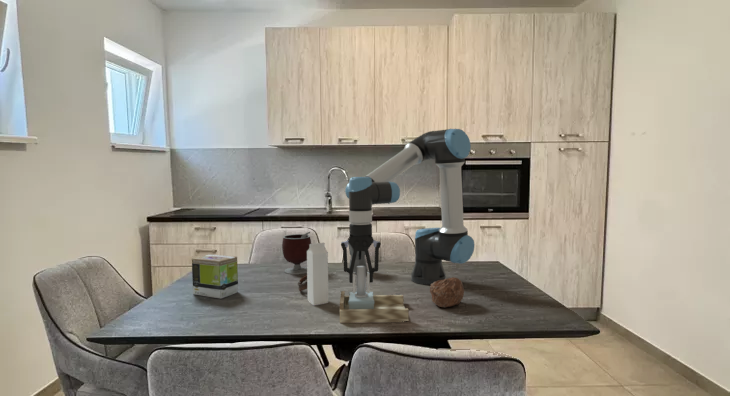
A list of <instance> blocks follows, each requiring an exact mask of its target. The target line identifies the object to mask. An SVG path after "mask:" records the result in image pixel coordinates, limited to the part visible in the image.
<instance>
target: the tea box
mask: <svg viewBox="0 0 730 396" xmlns="http://www.w3.org/2000/svg"><path fill="white" fill-rule="evenodd" d="M191 271H192V272H191V274H192V294H193V295H196V296H202V297H208V298H215V299H224V298H227V297H229V296H232V295H234V294H237V293H238V292H239V279H238V278H239V273H238V256H234V255H224V254H223V255H222V254H212V253H211V254H206V255H202V256H201V255H200V256H197V257H193V258H191Z"/></svg>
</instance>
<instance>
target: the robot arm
mask: <svg viewBox="0 0 730 396" xmlns="http://www.w3.org/2000/svg"><path fill="white" fill-rule="evenodd" d="M471 146H472V145H471V141H470V137H469V136H468V134H467V133H466V132H465V131H464V130H462V129H461V128H447V129H439V130H432V131H427V132H424V133H422V134H420V135H419V136H418V137H416V138H414V139H412V140H411V141H410V142H408V143H407V144H405V145H404V148H403V149H402V150H400V151H399V152H398V153H397V154H395V155H393V156H392V157H391V158H390V159H388V160H387V161H385V162H383V163H382V164H381V165H380V166H378V167H377V168H375V169H374V170H372V171H371V172H369V173H368V174H366V175H365V176H352V177H350V178H349V182H348V183H347V184H346V186H345V190H344V191H345V196H346V198H347V199H348V205H349V211H348V214H349V215H348V216H349V217H348V222H349V225H348V226H349V227H348V228H349V230H348V231H349V236H348V238H347V240H345V241H341V242H340V243H341V244H340V246H341V248H342V254H343V255H342V257H343V272H345V273H347V274H348V277H349V284H352V292H353V293H355V292H356V275H355V272H353V269H354V264H355V259H356V255H357V251H365V259H366V265H367V269H368V271H367V273H366V292H367V293H370V292H371V290H370V289H371V288H370V287H371V286H370V283H371V284H372V283H373V282H374V273H376V272H378V271H379V257H380V256H379V255H380V248H381V246H382V244H381V241H379V240H378V241H377V240H375V239H374V238H373V225H372V222H373V208H372V207H373V205H383V204H384V205H385V204H388V205H390V204H392V203H393V204H394V203H397V202H398V201H399V199H400V197H401V188H400V186H399V184H397V182H394V181H393V180H395V179H397V177H399V176H400V175H402V174H403V173H404V172H406V171H407V170H409V169H410V168H412V167H413V166H414V165H420V164H422V163H423V162H425V161H429V160H434V162H435V163H434V164H435V166H436V167H438V169H439V186H440V187H439V188H440V207H441V209H440V210H441V212H440V213H441V227H427V228H418V229H416V230H415V236H414V256H415V258H414V260H415V261H414V262H415V263H414V265H413V268H412V271H411V274H410V276H411V277H410V279H411V281H412V282H413V283H416V284H420V285H427V286H428V285H430V286H431V284H432V283H434V282H436V281H439V280H444V279H447V275H446V271H445V269H444V266H443V261H445V262H449V263H453V264H461V265H462V264H465V263H467V262H469V260H470V259H471V257H472V256H473V254H474V250H475V240H474V239H473V237H472V236H470V235H468V234H469V232H468V228H467V227H466V226H464V207H463V204H464V203H463V201H464V200H463V182H462V181H463V180H462V176H463V175H462V166H463V165H464V164H465V163H466V160H465V159H466V158H467V157H468V156H469V155H470V153H471V150H472V149H471ZM348 244H350V245H351V246H352V248H353V249H354V250H353V255H352V260H351V265H350V264H348V248H349V245H348ZM372 244H373V248H374V267H373V265H372V260H371V256H370V251H369V249H370V248H371V246H372ZM349 265H350V268H349Z"/></svg>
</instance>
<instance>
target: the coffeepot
mask: <svg viewBox="0 0 730 396" xmlns="http://www.w3.org/2000/svg"><path fill="white" fill-rule="evenodd" d="M348 250H349V251H348V252H349V255H350V259H349V264H348V268H350V265H351V260H352V255H353V250H354V249H353V248H352V246H351V245H350V244H348ZM357 266H365V267H366V274H367V272H368V264H367V259H366V255H365V251H357V255H356V259H355V264H354V269H353V272H355V274H357Z"/></svg>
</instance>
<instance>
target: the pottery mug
mask: <svg viewBox="0 0 730 396" xmlns="http://www.w3.org/2000/svg"><path fill="white" fill-rule="evenodd" d="M306 280H307V274H306V275H304V276H303V277H301V278H300V279H299V282H298V283H297V286H298V291H299V292H300V293H301V292H302V291H305V290H307V281H306Z"/></svg>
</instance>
